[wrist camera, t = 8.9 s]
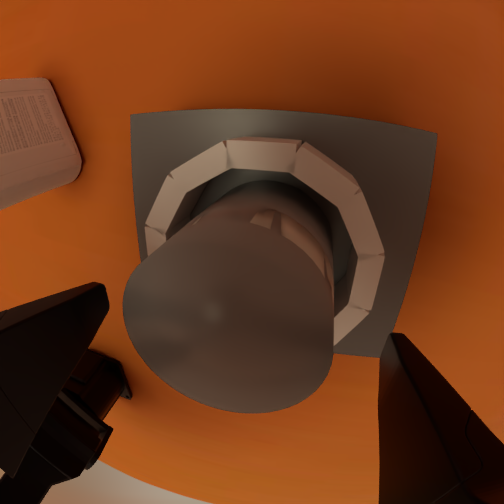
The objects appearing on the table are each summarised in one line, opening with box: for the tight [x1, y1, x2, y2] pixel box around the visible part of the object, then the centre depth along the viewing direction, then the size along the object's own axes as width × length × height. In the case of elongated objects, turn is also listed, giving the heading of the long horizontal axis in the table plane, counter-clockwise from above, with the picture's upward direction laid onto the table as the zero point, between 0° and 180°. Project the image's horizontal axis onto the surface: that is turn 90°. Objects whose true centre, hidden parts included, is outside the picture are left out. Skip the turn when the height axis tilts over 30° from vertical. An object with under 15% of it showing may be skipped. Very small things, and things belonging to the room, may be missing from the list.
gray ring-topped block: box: [130, 109, 437, 358], centre depth 15 cm, size 12×14×8 cm
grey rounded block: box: [123, 180, 334, 413], centre depth 11 cm, size 6×6×7 cm
